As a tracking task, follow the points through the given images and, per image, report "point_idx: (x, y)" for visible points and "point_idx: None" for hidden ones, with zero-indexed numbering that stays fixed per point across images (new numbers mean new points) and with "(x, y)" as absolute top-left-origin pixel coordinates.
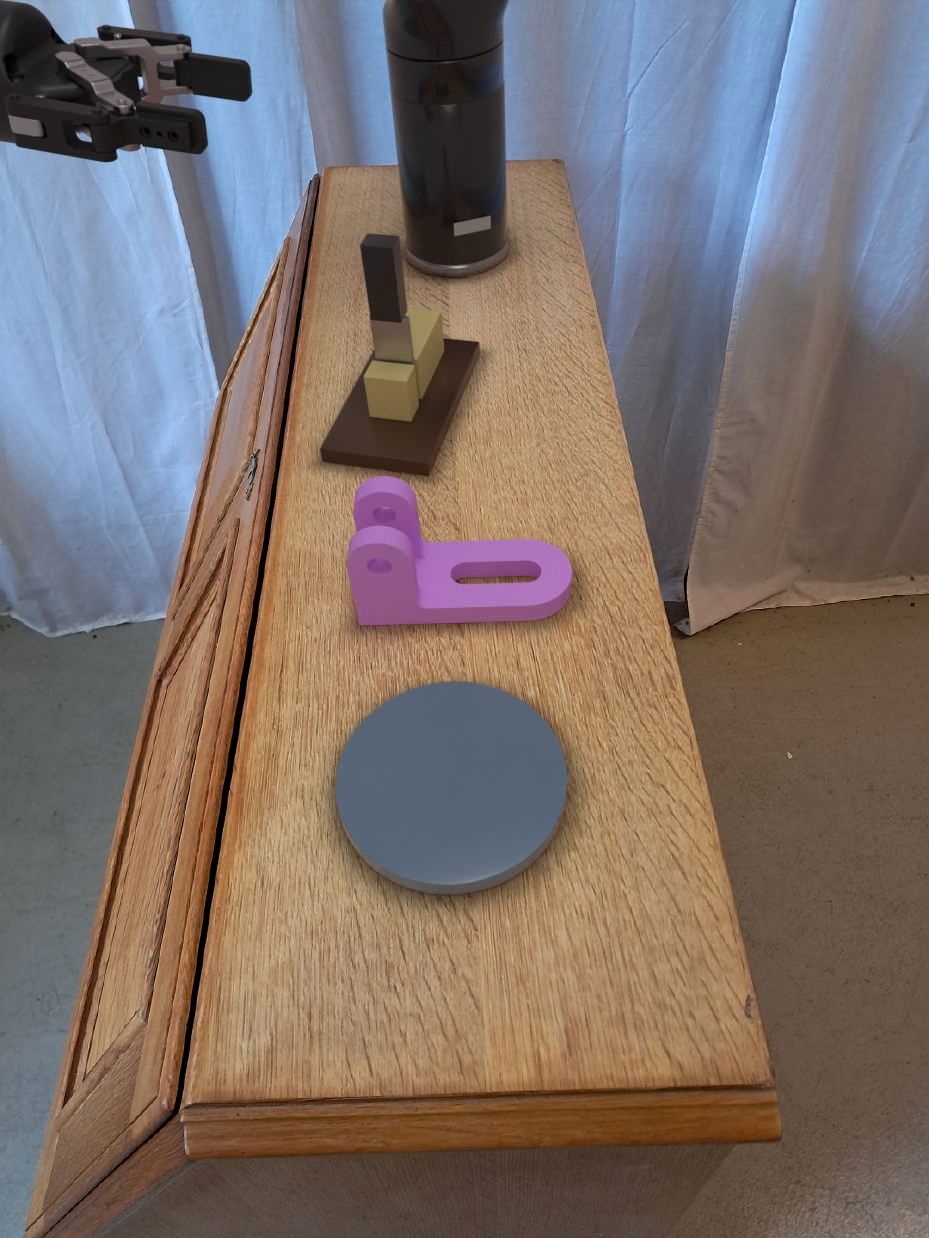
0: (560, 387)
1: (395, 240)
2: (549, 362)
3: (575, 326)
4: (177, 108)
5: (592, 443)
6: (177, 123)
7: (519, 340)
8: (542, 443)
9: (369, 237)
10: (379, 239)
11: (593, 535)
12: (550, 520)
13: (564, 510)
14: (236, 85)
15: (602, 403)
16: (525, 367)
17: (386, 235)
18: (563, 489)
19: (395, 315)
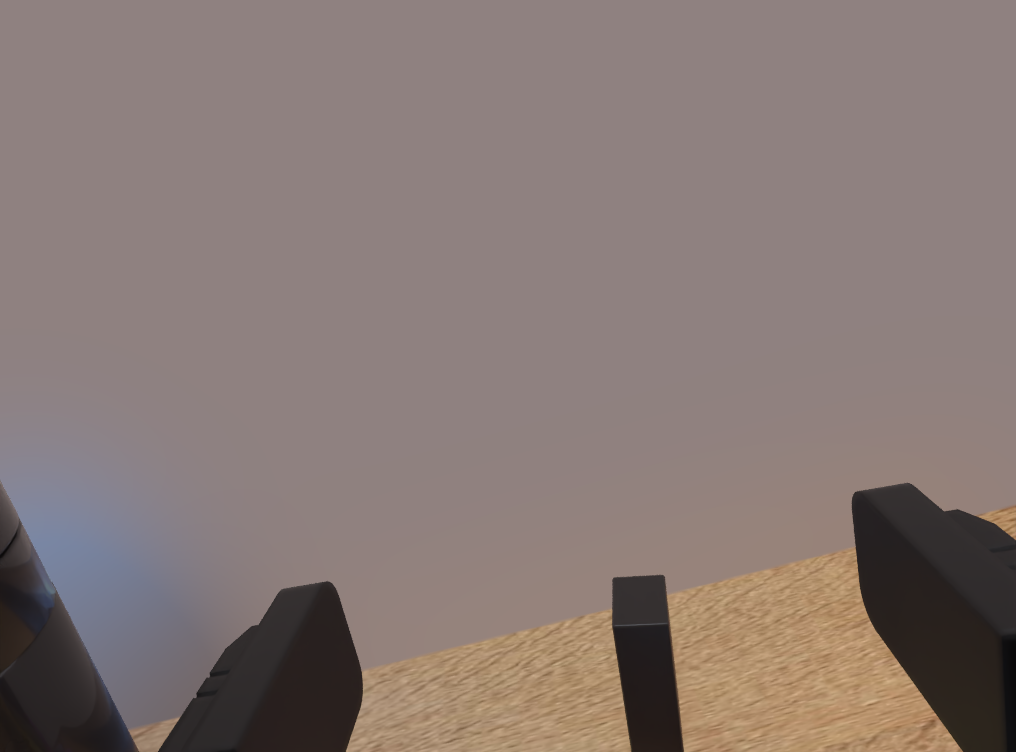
0: (554, 668)
1: (635, 576)
2: (492, 691)
3: (397, 677)
4: (920, 519)
5: (671, 615)
6: (986, 527)
7: (430, 743)
8: (690, 663)
9: (633, 616)
10: (636, 599)
11: (843, 586)
12: (843, 627)
13: (815, 618)
14: (339, 670)
15: (584, 619)
16: (507, 719)
17: (617, 594)
18: (776, 626)
19: (678, 698)
